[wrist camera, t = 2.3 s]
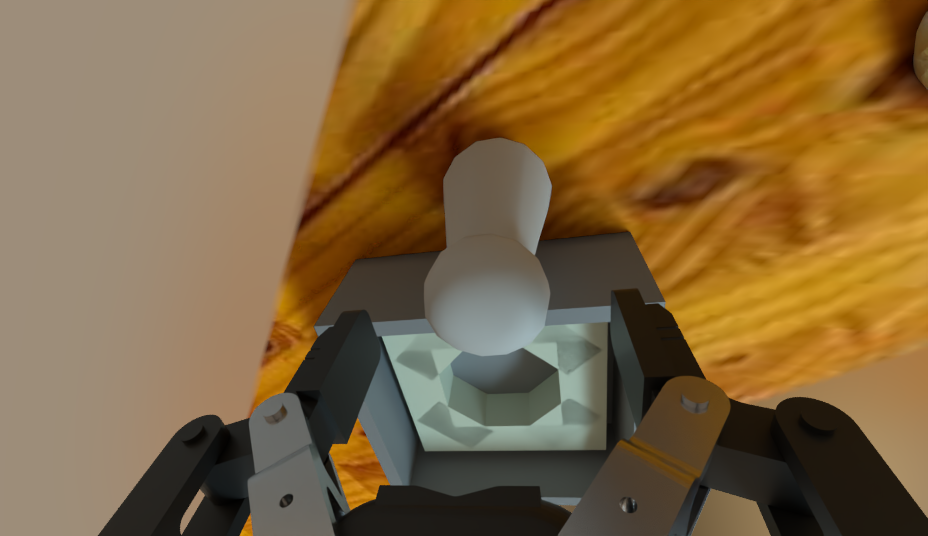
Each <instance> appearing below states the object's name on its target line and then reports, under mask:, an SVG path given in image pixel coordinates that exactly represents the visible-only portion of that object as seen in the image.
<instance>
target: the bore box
mask: <svg viewBox="0 0 928 536" xmlns="http://www.w3.org/2000/svg"><path fill="white" fill-rule="evenodd" d="M441 252H442V251H435V252H426V253H416V254H406V255H396V256H386V257H376V258H367V259H357V260H355V262H354V263H353V265H352V266H351V268H350V270H349V271H348V273H347V274H346V276H345V278H344V279H343V281H342V282H341V284H340V286H339V287H338V289H337V290H336V292H335V293H334V295H333V297H332V298H331V300H330V301H329V303H328V305H327V306H326V308H325V309H324V311H323V312H322V314H321V316H320V317H319V319H318V320H317V322H316V324H315V325H314V328H315V330H316V333H317V335H318V337H319V336H320V335H321V334H322V333H323V332H324V331H325V330H326V329H328V328H329V327H333V326H334V324H335V323H336V321H337V319H338V318H339V316H340V314H341V313H342V312H343V311H352V310H366V311H367V312H368V314H369V316H370V319H371V322H372V324H373V327H374V330H375V332H376V335H377V338H378V340H379V343H380V348H381V356H380V361H379V364H378V366H377V369H376V371H375V374H374V376H373V379H372V382H371V384H370V387H369V389H368V392H367V394H366V397H365V399H364V402H363V404H362V407H361V409H360V412H359V415H358V419H359V421H360V423H361V425H362V427H363V429H364V431H365V433H366V435H367V438H368V440H369V442H370V444H371V446H372V448H373V450H374V452H375V454H376V456H377V458H378V460H379V462H380V464H381V466H382V468H383V470H384V473H385V475H386V477H387V479H388V481H389V483H390V485H417V486H420V487H424V488H427V489H431V490H434V491H437V492H441V493H444V494H447V495H451V496H461V495H464V494H468V493H472V492H476V491H480V490H484V489H488V488H492V487H496V486H540V492H541V499H542V500H545V501H548V502H551V503H554V504H556V505H578V503H579V502H580V500H581V498H582V497H583V495H584V494H585V492H586V491H587V489H588V488H589V486H590V485H591V483H592V481H593V480H594V478H595V477H596V475H597V474H598V472H599V471H600V469H601V468H602V466H603V464H604V463H605V461H606V460H607V458H608V457H609V455H610V454H611V452H612V451H613V449H614V447H615V446H616V445H617V443H618V442H619V441H620V440H621V439H623V438H625V439H627V440H629V439H630V438H631V437H632V436H633V434H634V432H635V431H636V425H635V422H634V418H633V415H632V412H631V408H630V405H629V401H628V398H627V394H626V391H625V388H624V384H623V381H622V377H621V374H620V371H619V367H618V364H617V360H616V357H615V354H614V350H613V346H612V340H611V330H610V322H611V291H612V290H619V289H632V288H638V290H639V291H640V294H641V296H642V298H643V300H644V303H645V304H654V303H659V304H660V305H661V306H662V307H664V308H665V300H664V298H663V296H662V294H661V292H660V290H659V288H658V286H657V284H656V282H655V280H654V278H653V276H652V274H651V272H650V270H649V268H648V266H647V264H646V262H645V260H644V258H643V256H642V254H641V252H640V250H639V248H638V246H637V245H636V243H635V241H634V239H633V237H632V235H631V233H630V232H622V233H612V234H602V235H593V236H583V237H573V238H563V239H553V240H543V241H538V245H537V249H536V253H535V256H536V257H537V258H538V260H539V261H540V264H541V266H542V268H543V271H544V273H545V276H546V278H547V280H548V283H549V288H550V299H549V305H548V310H547V315H546V320H545V326H544V328H543V329H542V330H541V332H540V333H539V334H538V335H537V336H536V337H535V339H534V340H533V341H532V342H531V343H530V344H529V345H527V346H525V347H523V348H520V349H518V350H516V351H513V352H511V353H509V354H505V355H492V356H479V355H475V354H471V353H468V352H464V351H460V350H457V349H456V348H454V347H453V346H451V345H450V344H448V343H447V342H445V341H444V340H442V339H441V338H439V337H438V336H436V334H435V332H434V331H433V329H432V327H431V326H430V324H429V322H428V321H427V319H426V317H425V306H424V282H425V280H426V278H427V275H428V273H429V271H430V270H431V268H432V266H433V265H434V263H435V261H436V259H437V258H438V256H439V254H440V253H441Z"/></svg>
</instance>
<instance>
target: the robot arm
mask: <svg viewBox="0 0 928 536" xmlns="http://www.w3.org/2000/svg"><path fill="white" fill-rule="evenodd" d="M610 330H611V340H612V346H613V350H614V354H615V357H616V360H617V364H618V367H619V371H620V374H621V377H622V381H623V384H624V388H625V391H626V394H627V398H628V401H629V405H630V408H631V412H632V415H633V418H634V422H635V425H636V431H635V432H634V434H633V436H632V437H631V438H630V439H629V440H627V439H625V438H623V439H621V440H620V441H619V442H618V443H617V445H616V446H615V447H614V449H613V451H612V452H611V454H610V455H609V457H608V458H607V460H606V461H605V463H604V464H603V466H602V468H601V469H600V471H599V472H598V474H597V475H596V477H595V478H594V480H593V481H592V483H591V485H590V486H589V488H588V489H587V491H586V492H585V494H584V495H583V497H582V498H581V500H580V502H579V503H578V505H577V506H576V508H575V509H574V511H573V512H572V513H571V512H569V511H568V510H566V509H564V508H562V507H561V506H558V505H556V504H554V503H551V502H548V501H545V500H542V499H541V492H540V486H496V487H492V488H488V489H484V490H480V491H476V492H472V493H468V494H464V495H461V496H451V495H447V494H444V493H441V492H437V491H434V490H431V489H427V488H424V487H420V486H417V485H380V486H379V490H378V493H377V497H376V499H374V500H371V501H369V502H366V503H364V504H362V505H360V506H358V507H356V508H354V509H353V510H351V511H350V509H349V506H348V504H347V501H346V498H345V495H344V492H343V489H342V486H341V483H340V480H339V478H338V475H337V472H336V469H335V466H334V463H333V460H332V457H331V455H330V454H329V451H330V449H331V446H332V444H347V442H348V440H349V437H350V435H351V432H352V430H353V427H354V425H355V422H356V420H357V417H358V415H359V412H360V409H361V407H362V404H363V402H364V399H365V397H366V394H367V392H368V389H369V387H370V384H371V382H372V379H373V376H374V374H375V371H376V369H377V366H378V364H379V361H380V356H381V348H380V343H379V340H378V338H377V335H376V332H375V330H374V327H373V324H372V322H371V319H370V316H369V314H368V312H367V311H366V310H352V311H343V312H342V313H341V314H340V316H339V318H338V319H337V321H336V323H335V324H334V326H333V327H329V328H328V329H326V330H325V331H324V332H323V333H322V334H321V335H320V336H319V337H318V338H317V339H316V341H315V342H314V344H313V346H312V347H311V351H309V352H308V354H307V355H306V357H305V360H303V362H302V364H301V365H300V367H299V368H298V370H297V372H296V373H295V375H294V377H293V378H292V380H291V381H290V383H289V385H288V386H287V388H286V390H285V391H284V393H281V394H277V395H275V396H272V397H270V398H269V399H267V400H265V401H264V402H263V403H261V404H260V405H259V406H258V407H257V408H256V409H255V410H254V412H253V413H252V415H251V417H250V418H248V419H245V420H241V421H238V422H235V423H232V424H228V425H224V423H223V422H222V420H221V419H220V418H219V417H218V416H216V415H205V416H202V417H199V418H196V419H195V420H192V421H191V422H189V423H187V424H186V425H185V426H183V427H182V428H181V429H180V430H179V431H178V432H177V433H176V434H175V435H174V436H173V437H172V438H171V440H170V441H169V442H168V444H167V445H166V446H165V448H164V449H163V450H162V452H161V453H160V454H159V456H158V457H157V458H156V459H155V461H154V462H153V464H152V465H151V466H150V468H149V469H148V470H147V471H146V473H145V474H144V475H143V477H142V478H141V479H140V481H139V482H138V483H137V485H136V486H135V487H134V489H133V490H132V491H131V493H130V494H129V495H128V496H127V498H126V499H125V500H124V502H123V503H122V504H121V506H120V507H119V508H118V510H117V511H116V513H115V514H114V515H113V517H112V518H111V519H110V520H109V522H108V523H107V524H106V526H105V527H104V528H103V530H102V531H101V532H100V534H99V535H98V536H239V535H240V533H241V531H242V529H243V527H244V525H245V523H246V521H247V519H248V517H249V515H250V513H251V520H252V529H253V536H691V534H692V532H693V529H694V527H695V525H696V522H697V520H698V518H699V515H700V513H701V511H702V508H703V506H704V504H705V501H706V499H707V497H708V494H709V492H710V490H711V488H712V489H715V490H719V491H722V492H726V493H729V494H732V495H736V496H739V497H743V498H746V499H749V500H753V501H756V502H757V505H758V507H759V509H760V512H761V514H762V516H763V519H764V521H765V523H766V526H767V528H768V530H769V533H770V535H771V536H928V518H927V517H926V515H925V514H924V513H923V511H922V510H921V509H920V507H919V506H918V505H917V503H916V502H915V501H914V499H913V498H912V497H911V496H910V494H909V493H908V492H907V490H906V489H905V488H904V486H903V485H902V484H901V482H900V481H899V480H898V478H897V477H896V476H895V474H894V473H893V472H892V470H891V469H890V468H889V466H888V465H887V464H886V462H885V461H884V460H883V458H882V457H881V456H880V454H879V453H878V452H877V450H876V449H875V448H874V446H873V445H872V444H871V443H870V441H869V440H868V439H867V437H866V436H865V434H864V433H863V432H862V430H861V429H860V428H859V426H858V425H857V424H856V423H855V422H854V420H852V419H851V418H850V417H849V416H848V415H847V414H845V413H844V412H843V411H841V410H840V409H838V408H836V407H834V406H832V405H830V404H828V403H825V402H823V401H819V400H816V399H812V398H806V397H793V398H789V399H786V400H783V401H782V402H780V403H779V404H778V405H777V408H776V410H774V409H769V408H764V407H759V406H754V405H749V404H745V403H741V402H738V401H735V400H733V399H730V398H728V397H727V395H726V394H725V392H724V391H723V390H722V389H721V388H719V387H718V386H717V385H715V384H714V383H712V382H710V381H708V380H706V378H705V376H704V375H703V373H702V371H701V369H700V367H699V365H698V363H697V361H696V359H695V357H694V355H693V354H692V352H691V350H690V348H689V346H688V344H687V342H686V340H685V339H684V336H683V334H682V333H681V331H680V329H678V325H677V323H676V321H675V319H674V317H673V315H672V314H671V313H670V312H669V311H668V310H666V309H665V308H664V307H662V306H661V305H660V304H659V303H654V304H645V303H644V300H643V298H642V296H641V294H640V291H639V290H638V288H632V289H619V290H612V291H611V322H610ZM199 489H200V490H201V491H202V492H203V493H204V494H205V497H204V498H203V500H202V502H201V503H200V505H199V507H198V508H197V510H196V512H195V514H194V515H193V517H192V518H191V520H190V522H189V524H188V525H187V527H186V529H185V530H184V532H183V534H182V535H181V534H180V523H181V520H182V517H183V515H184V513H185V512H186V510H187V509H188V507H189V505H190V504H191V502H192V500H193V499H194V497H195V496H196V494H197V492H198V491H199Z"/></svg>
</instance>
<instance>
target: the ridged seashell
mask: <svg viewBox="0 0 928 536" xmlns="http://www.w3.org/2000/svg"><path fill="white" fill-rule="evenodd" d="M913 66H914V72H915V74H916V76H917V77H918V79H919V81H920V82H921V83H922V84H923V85H924V86H925V87H926V89H927V90H928V11H927V12H926V14H925V15H924V17H923V19H922V21H921V23H920V25H919V27H918V30H917V33H916V40H915V46H914V57H913Z"/></svg>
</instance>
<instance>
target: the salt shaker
mask: <svg viewBox="0 0 928 536" xmlns="http://www.w3.org/2000/svg"><path fill="white" fill-rule="evenodd" d="M551 189H552V185H551V182H550V179H549V176H548V173H547V171H546V168H545V165H544V163H543V161H542V160H541V159H540V158H539V157H538V156H537V155H536V154H534V153H533V152H532V151H531V150H530V149H529V148H528V147H527V146H526V145H525V144H522V143H519V142H515V141H512V140H508V139H505V138H501V137H500V138H494V139H488V140H482V141H476V142H475V143H473V144H472V145H471V146H469V147H468V148H467V149H465V150H464V151H463V152H461V153H460V154H459V155H457V156H456V157H455V158H454V160H453V162H452V164H451V165H450V167H449V169H448V171H447V173H446V175H445V177H444V179H443V191H444V209H445V223H446V242H447V248H446V249H445V250H443V251H442V252H441V253H440V254H439V256H438V258H437V259H436V261H435V263H434V265H433V266H432V268H431V270H430V271H429V273H428V275H427V278H426V280H425V282H424V306H425V317H426V319H427V321H428V322H429V324H430V326H431V327H432V329H433V331H434V332H435V334H436V336H438V337H439V338H441V339H442V340H444V341H445V342H447V343H448V344H450V345H451V346H453V347H454V348H456V349H457V350H460V351H464V352H468V353H471V354H475V355H479V356H492V355H505V354H509V353H511V352H513V351H516V350H518V349H520V348H523V347H525V346H527V345H529V344H530V343H531V342H532V341H533V340H534V339H535V337H536V336H537V335H538V334H539V333H540V332H541V330H542V329H543V328H544V326H545V320H546V315H547V310H548V305H549V299H550V288H549V283H548V280H547V278H546V276H545V273H544V271H543V268H542V266H541V264H540V261H539V260H538V258H537V257H536V256H535V253H536V249H537V245H538V241H539V238H540V235H541V231H542V228H543V225H544V222H545V218H546V215H547V212H548V208H549V202H550V195H551Z"/></svg>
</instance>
